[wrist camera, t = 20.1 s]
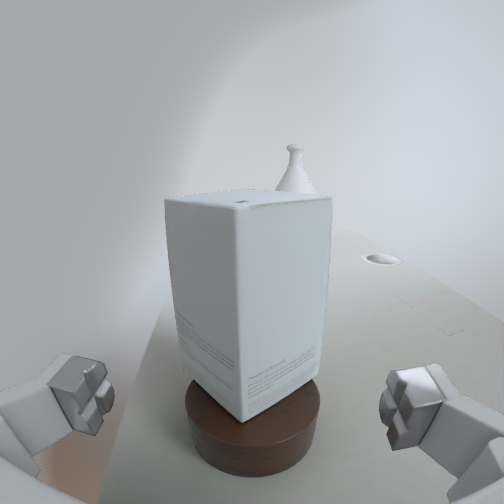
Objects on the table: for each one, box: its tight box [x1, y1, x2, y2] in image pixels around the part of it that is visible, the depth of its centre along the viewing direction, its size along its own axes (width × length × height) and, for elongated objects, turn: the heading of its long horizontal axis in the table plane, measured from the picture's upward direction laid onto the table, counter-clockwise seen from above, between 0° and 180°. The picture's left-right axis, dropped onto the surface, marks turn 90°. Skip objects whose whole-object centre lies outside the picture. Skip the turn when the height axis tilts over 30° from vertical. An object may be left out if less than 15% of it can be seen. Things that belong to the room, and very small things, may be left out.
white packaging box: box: [164, 189, 332, 422], centre depth 18 cm, size 7×7×13 cm
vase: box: [275, 144, 318, 195], centre depth 88 cm, size 17×17×25 cm
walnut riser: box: [185, 379, 320, 477], centre depth 19 cm, size 9×9×4 cm
